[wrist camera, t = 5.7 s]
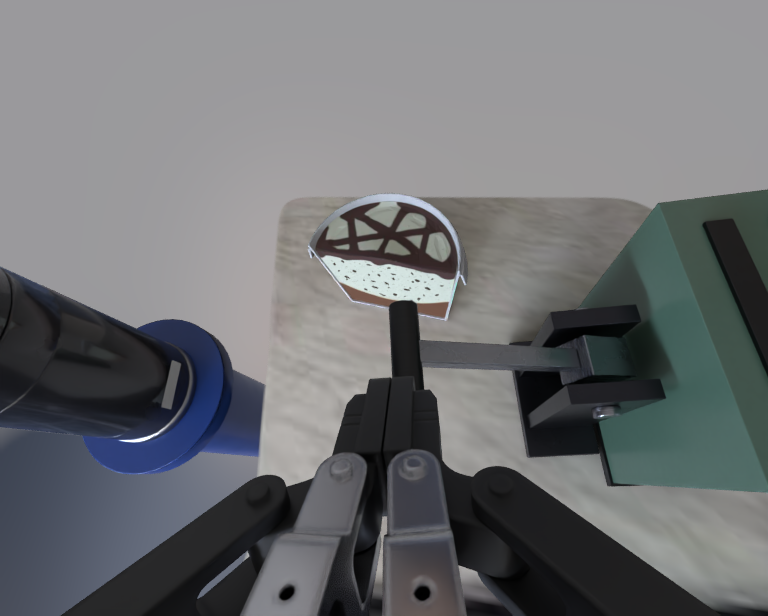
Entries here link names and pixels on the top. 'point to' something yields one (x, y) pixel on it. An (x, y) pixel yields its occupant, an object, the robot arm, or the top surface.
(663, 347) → the toaster body
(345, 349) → the top surface
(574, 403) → the bracket
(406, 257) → the food container
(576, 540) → the robot arm
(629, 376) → the lever
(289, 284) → the top surface
